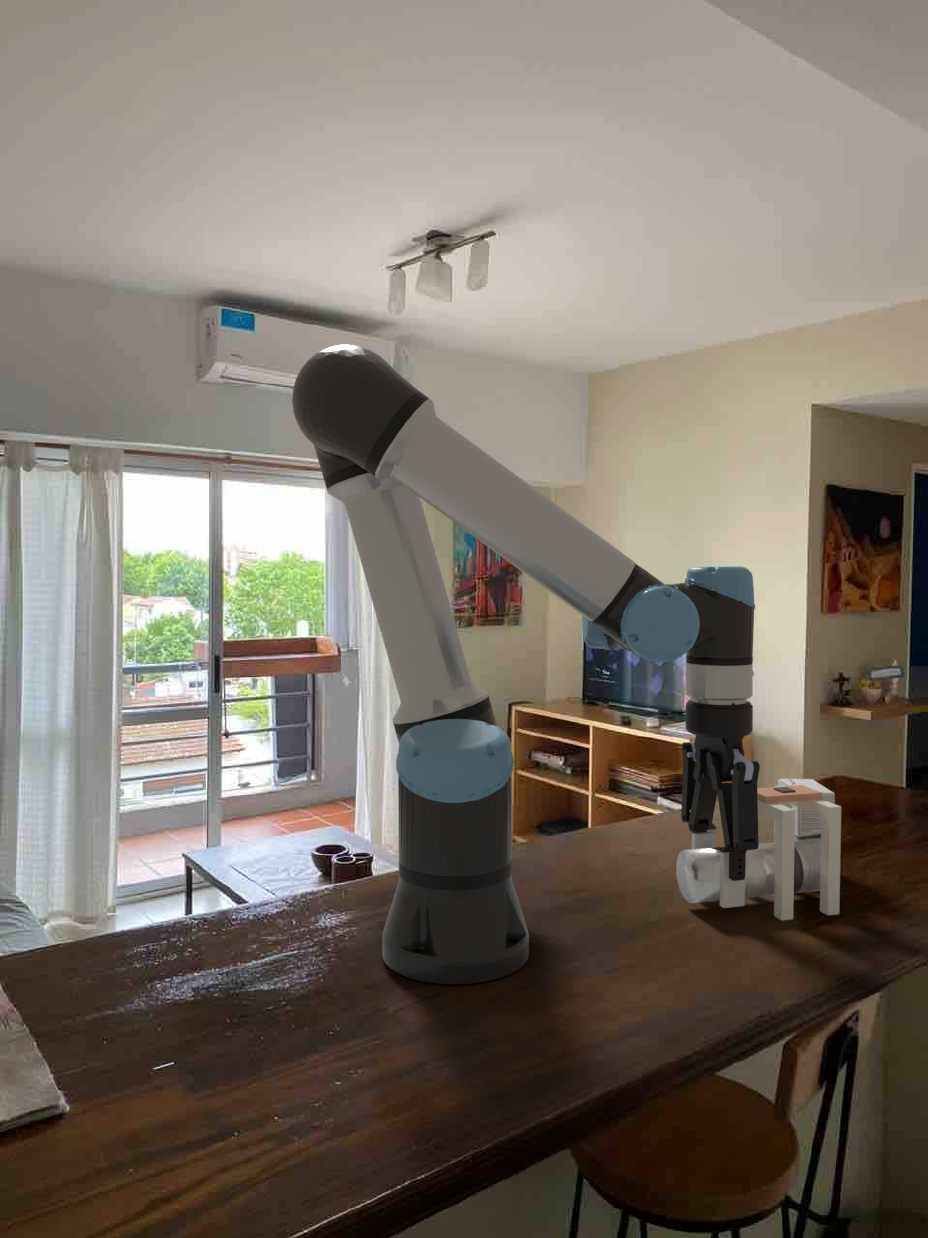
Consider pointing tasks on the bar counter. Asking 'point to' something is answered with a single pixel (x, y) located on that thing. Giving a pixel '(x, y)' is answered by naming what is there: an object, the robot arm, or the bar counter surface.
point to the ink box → (804, 820)
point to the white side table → (780, 810)
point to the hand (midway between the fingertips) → (717, 895)
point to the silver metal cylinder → (703, 871)
